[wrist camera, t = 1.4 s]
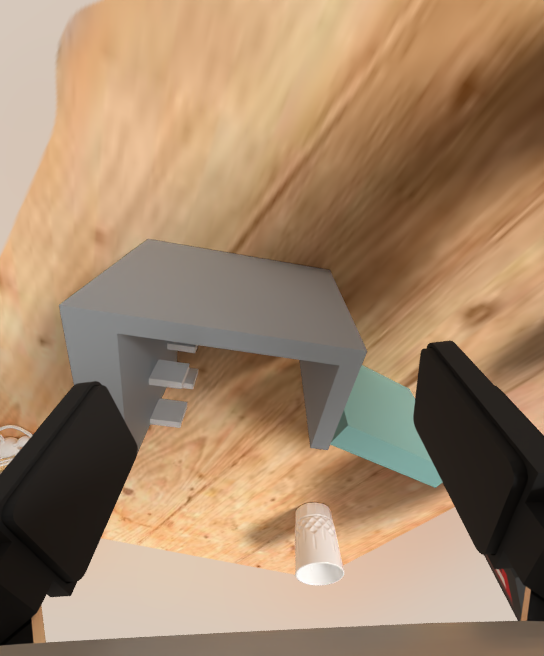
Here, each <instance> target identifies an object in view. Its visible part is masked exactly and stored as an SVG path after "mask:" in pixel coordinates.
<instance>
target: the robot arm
mask: <svg viewBox="0 0 544 656" xmlns="http://www.w3.org/2000/svg"><path fill="white" fill-rule="evenodd" d="M413 421H414V425H415V428H416V431H417V433H418V435H419V437H420V439H421V440H422V442H423V444H424V446H425V448H426V450H427V452H428V454H429V456H430V458H431V460H432V462H433V464H434V466H435V468H436V470H437V472H438V474H439V476H440V478H441V480H442V482H443V484H444V486H445V488H446V490H447V492H448V494H449V496H450V498H451V500H452V502H453V504H454V506H455V508H456V510H457V512H458V514H459V516H460V518H461V520H462V522H463V523H464V525H465V527H466V529H467V531H468V533H469V535H470V537H471V539H472V541H473V543H474V545H475V547H476V549H477V550H478V551H479V553H481V554H483V555H485V554H487V556H488V558H489V560H490V562H491V564H492V566H493V568H494V570H495V569H511V568H514V570H515V572H516V573H517V575H518V577H519V579H520V580H521V582H522V584H523V585H524V586H526V588H525V595H524V602H523V609H522V615H521V621H503V622H502V621H498V622H463V623H462V622H460V623H459V622H458V623H426V624H425V623H424V624H403V625H380V626H358V627H338V628H337V627H336V628H314V629H294V630H273V631H253V632H233V633H213V634H195V635H176V636H155V637H138V638H137V637H136V638H119V639H101V640H83V641H66V642H48V643H46V640H45V632H44V623H43V615H42V607H41V604H42V602H43V600H44V598H45V596H46V594H47V595H49V596H50V597H60V596H71V594H72V592H73V590H74V587H75V585H76V583H77V581H79V580H80V579H81V578H82V577H83V576H84V574H85V572H86V570H87V568H88V566H89V563H90V561H91V559H92V557H93V554H94V552H95V550H96V548H97V545H98V543H99V541H100V539H101V536H102V534H103V532H104V529H105V527H106V525H107V523H108V520H109V518H110V516H111V513H112V511H113V509H114V507H115V504H116V502H117V500H118V497H119V495H120V493H121V491H122V488H123V486H124V484H125V482H126V479H127V477H128V475H129V472H130V470H131V468H132V466H133V463H134V461H135V459H136V456H137V452H138V446H137V443H136V441H135V439H134V437H133V436H132V434H131V432H130V430H129V428H128V426H127V424H126V422H125V420H124V419H123V417H122V415H121V413H120V411H119V409H118V407H117V405H116V404H115V402H114V400H113V398H112V396H111V394H110V392H109V390H108V389H107V387H106V386H104V385H102V384H101V383H100V382H97V381H93V382H84V383H78V384H75V385H74V386H73V387H72V388H71V390H70V391H69V392H68V393H67V394H66V396H65V397H64V398H63V399H62V400H61V402H60V403H59V404H58V405H57V406H56V408H55V409H54V410H53V411H52V412H51V414H50V415H49V416H48V417H47V418H46V420H45V421H44V422H43V423H42V425H41V426H40V427H39V428H38V429H37V431H36V432H35V433H34V434H33V435H32V437H31V438H30V439H29V440H28V441H27V443H26V444H25V445H24V446H23V447H22V449H21V450H20V451H19V452H18V453H17V455H16V456H15V457H14V458H13V459H12V461H11V462H10V463H9V464H8V465H7V467H6V468H5V469H4V470H3V472H2V473H1V474H0V656H544V435H543V434H542V433H541V432H540V431H539V430H538V429H537V428H536V427H535V426H534V425H533V424H532V423H531V422H530V421H529V419H528V418H527V417H526V416H525V415H524V414H523V413H522V412H521V411H520V410H519V409H518V408H517V407H516V406H515V405H514V403H513V402H512V401H511V400H510V399H509V398H508V397H507V396H506V395H505V394H504V393H503V392H502V391H501V390H500V389H499V388H498V387H497V386H494V385H493V384H492V383H491V382H490V380H489V379H488V378H487V377H486V376H485V375H484V374H483V373H482V372H481V371H480V370H479V369H478V368H477V366H476V365H475V364H474V363H473V362H472V361H471V360H470V359H469V358H468V357H467V356H466V355H465V353H464V352H463V351H462V350H461V349H460V348H459V347H458V346H457V345H456V344H455V343H454V342H453V341H443V342H434V343H429V344H428V346H427V349H422V351H421V356H420V364H419V372H418V381H417V389H416V398H415V406H414V414H413Z"/></svg>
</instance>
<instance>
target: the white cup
mask: <svg viewBox="0 0 544 656" xmlns="http://www.w3.org/2000/svg"><path fill="white" fill-rule="evenodd" d="M295 575H296V578H297V579H298V580H299V581H301V582H303V583H305V584H309V585H327V584H332V583H334V582H337V581H339V580H340V579H341V578H342V577H343V576H344V569H343V564H342V559H341V554H340V550H339V545H338V540H337V536H336V531H335V527H334V524H333V519H332V514H331V510H330V509H329V507H328V506H326V505H324V504H322V503H316V502H313V503H306V504H303V505H301V506H300V507H299V508H298V509H297V510H296V513H295Z"/></svg>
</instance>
